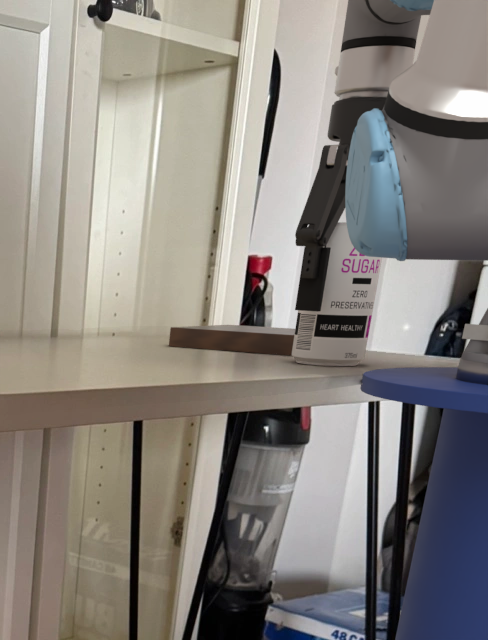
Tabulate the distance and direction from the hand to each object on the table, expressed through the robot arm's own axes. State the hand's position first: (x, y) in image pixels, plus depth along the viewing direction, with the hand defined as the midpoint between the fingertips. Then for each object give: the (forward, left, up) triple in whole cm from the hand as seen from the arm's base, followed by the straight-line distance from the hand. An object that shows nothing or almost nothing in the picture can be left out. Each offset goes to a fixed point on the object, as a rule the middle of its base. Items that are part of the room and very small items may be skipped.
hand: (334, 309), depth 120 cm
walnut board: (+17, -16, -6) cm, 24 cm away
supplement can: (0, 0, -6) cm, 6 cm away
